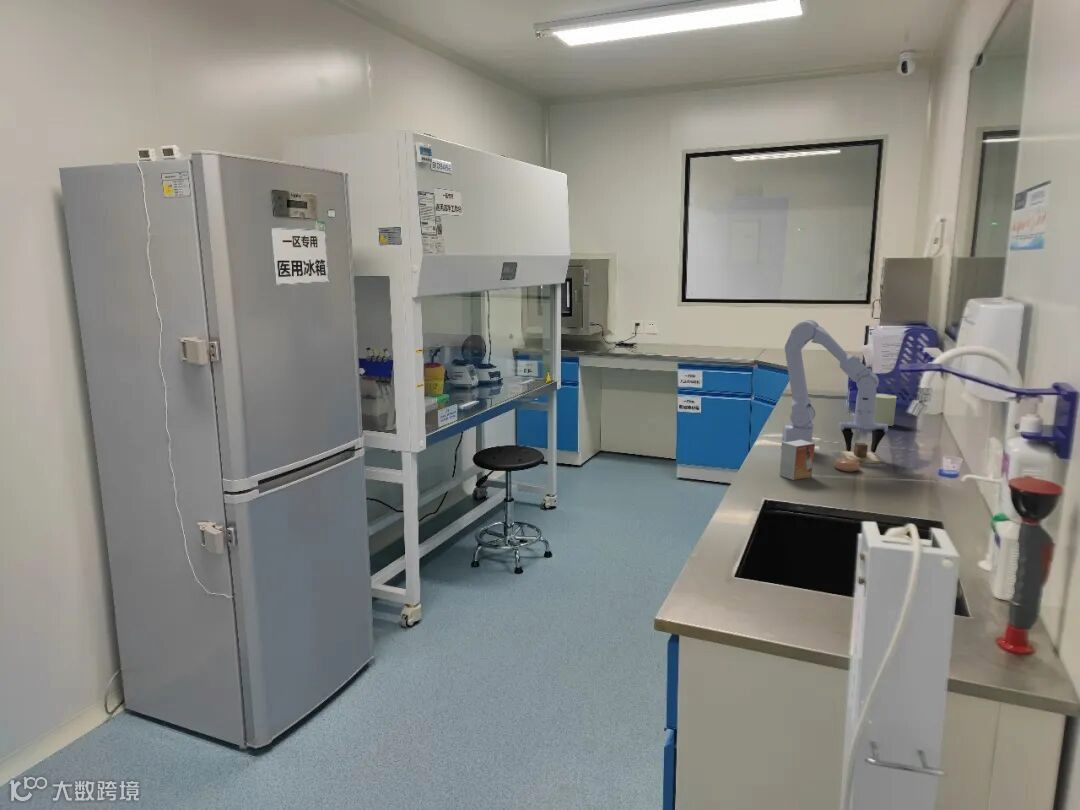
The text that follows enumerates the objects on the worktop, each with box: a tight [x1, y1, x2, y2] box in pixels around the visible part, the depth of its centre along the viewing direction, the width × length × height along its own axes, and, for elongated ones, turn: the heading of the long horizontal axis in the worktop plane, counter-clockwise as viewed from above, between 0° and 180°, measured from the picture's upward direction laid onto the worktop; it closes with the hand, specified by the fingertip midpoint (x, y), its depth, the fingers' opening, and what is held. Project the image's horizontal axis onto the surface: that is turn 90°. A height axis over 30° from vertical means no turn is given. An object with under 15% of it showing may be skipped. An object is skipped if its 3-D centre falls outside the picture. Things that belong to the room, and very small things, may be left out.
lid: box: [838, 442, 882, 463], centre depth 225 cm, size 10×10×5 cm
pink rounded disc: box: [834, 458, 861, 473], centre depth 213 cm, size 7×7×3 cm
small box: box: [779, 440, 816, 481], centre depth 207 cm, size 8×6×10 cm
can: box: [874, 393, 898, 427], centre depth 274 cm, size 9×9×12 cm
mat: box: [831, 451, 890, 466], centre depth 225 cm, size 14×12×1 cm
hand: (860, 451), depth 225 cm, fingers open, 7 cm apart
